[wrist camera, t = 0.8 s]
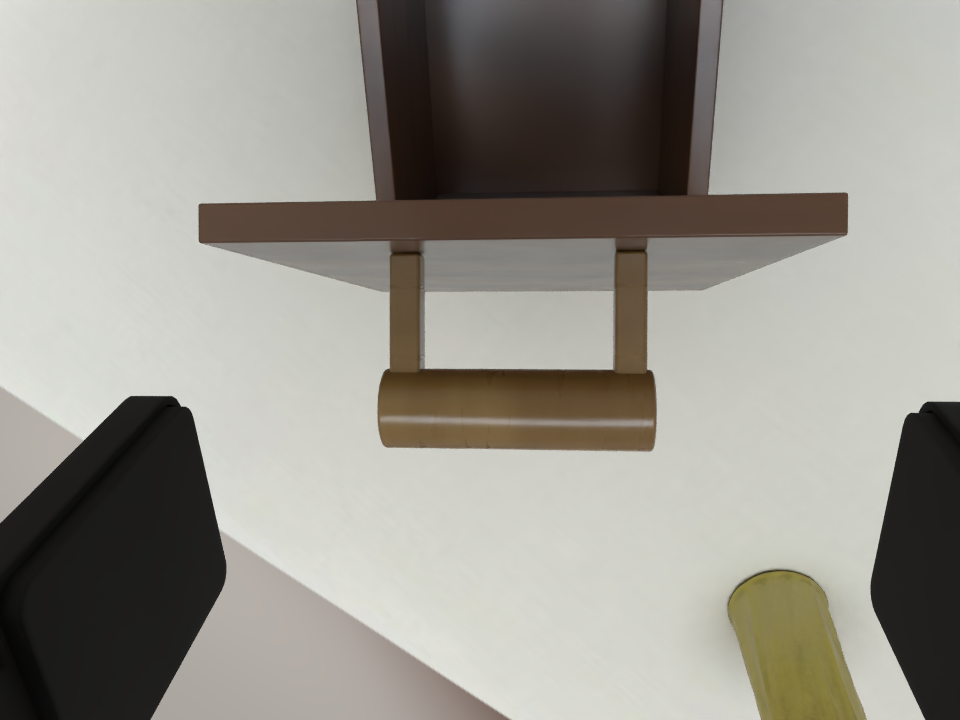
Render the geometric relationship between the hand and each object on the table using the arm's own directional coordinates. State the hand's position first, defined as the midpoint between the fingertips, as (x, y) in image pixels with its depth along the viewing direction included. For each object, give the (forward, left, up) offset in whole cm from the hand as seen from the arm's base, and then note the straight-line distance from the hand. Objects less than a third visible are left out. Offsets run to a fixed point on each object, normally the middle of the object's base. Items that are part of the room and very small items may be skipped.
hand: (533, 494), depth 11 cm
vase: (+3, +34, -33) cm, 47 cm away
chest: (-1, -3, -33) cm, 33 cm away
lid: (+1, +1, -14) cm, 14 cm away
